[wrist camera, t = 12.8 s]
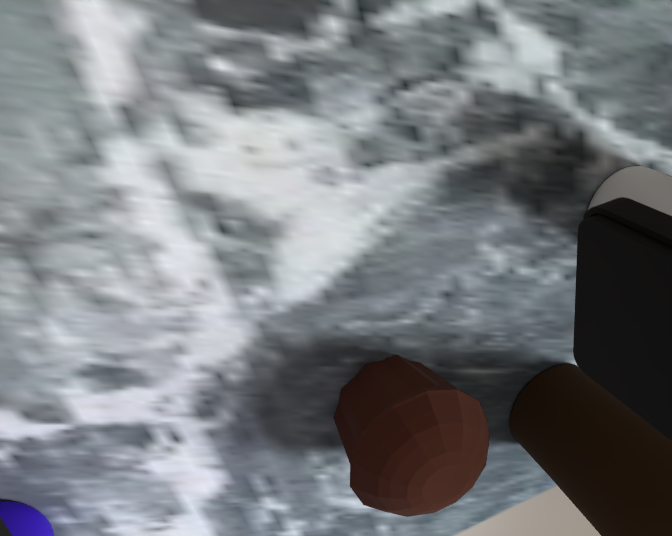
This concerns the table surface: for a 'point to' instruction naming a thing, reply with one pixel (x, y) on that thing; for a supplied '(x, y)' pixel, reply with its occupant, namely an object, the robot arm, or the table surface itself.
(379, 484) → the muffin
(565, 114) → the table surface
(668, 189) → the milk bottle
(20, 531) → the bottle
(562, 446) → the olive oil
